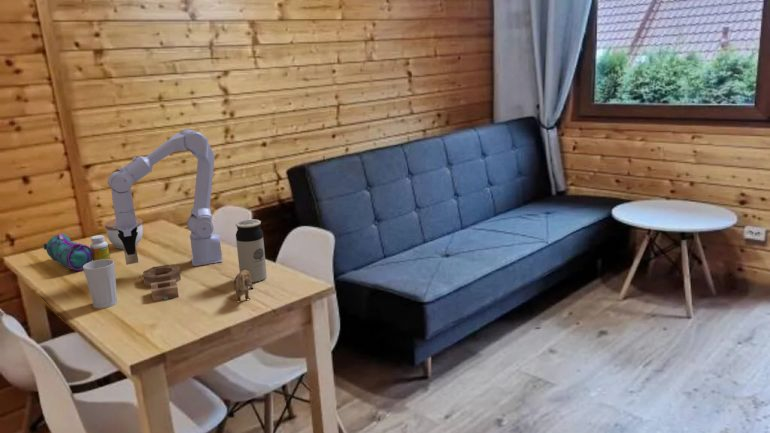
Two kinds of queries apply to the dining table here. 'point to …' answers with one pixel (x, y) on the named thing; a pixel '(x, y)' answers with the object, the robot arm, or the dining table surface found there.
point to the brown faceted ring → (161, 274)
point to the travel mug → (251, 249)
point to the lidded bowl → (114, 233)
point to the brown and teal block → (131, 257)
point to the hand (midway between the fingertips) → (131, 252)
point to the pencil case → (68, 252)
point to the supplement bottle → (99, 248)
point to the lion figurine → (242, 284)
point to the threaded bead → (164, 290)
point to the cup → (101, 282)
